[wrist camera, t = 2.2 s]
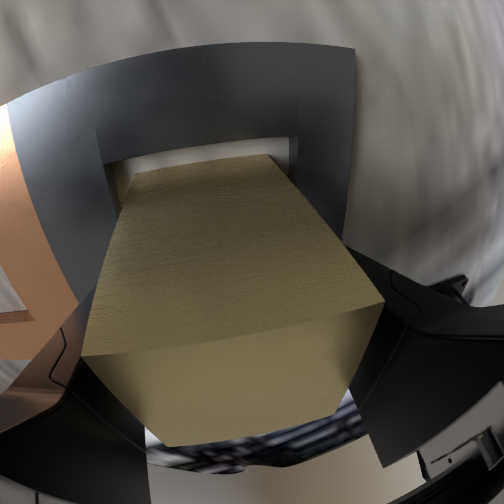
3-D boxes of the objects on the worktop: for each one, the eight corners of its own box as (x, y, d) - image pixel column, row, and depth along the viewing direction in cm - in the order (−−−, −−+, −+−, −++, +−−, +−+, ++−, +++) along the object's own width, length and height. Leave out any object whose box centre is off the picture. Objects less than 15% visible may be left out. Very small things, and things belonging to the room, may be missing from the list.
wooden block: (266, 153, 9) (385, 301, 4) (268, 257, 12) (334, 414, 7) (136, 173, 9) (80, 356, 3) (162, 275, 11) (167, 447, 6)
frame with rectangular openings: (342, 49, 8) (355, 48, 7) (321, 306, 15) (327, 317, 14) (-107, 189, 4) (-115, 197, 4) (-19, 349, 12) (-22, 358, 11)
